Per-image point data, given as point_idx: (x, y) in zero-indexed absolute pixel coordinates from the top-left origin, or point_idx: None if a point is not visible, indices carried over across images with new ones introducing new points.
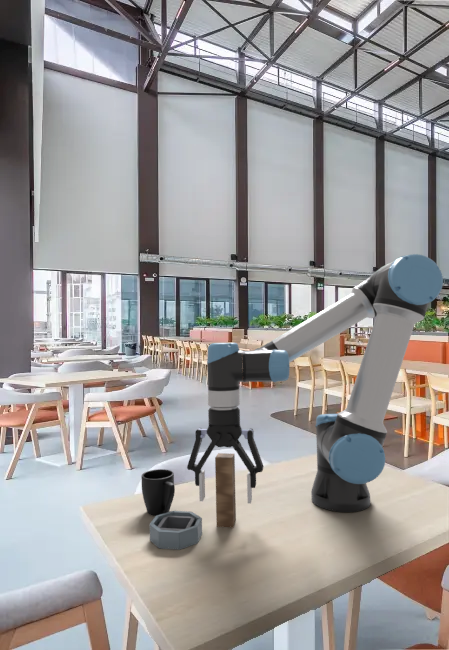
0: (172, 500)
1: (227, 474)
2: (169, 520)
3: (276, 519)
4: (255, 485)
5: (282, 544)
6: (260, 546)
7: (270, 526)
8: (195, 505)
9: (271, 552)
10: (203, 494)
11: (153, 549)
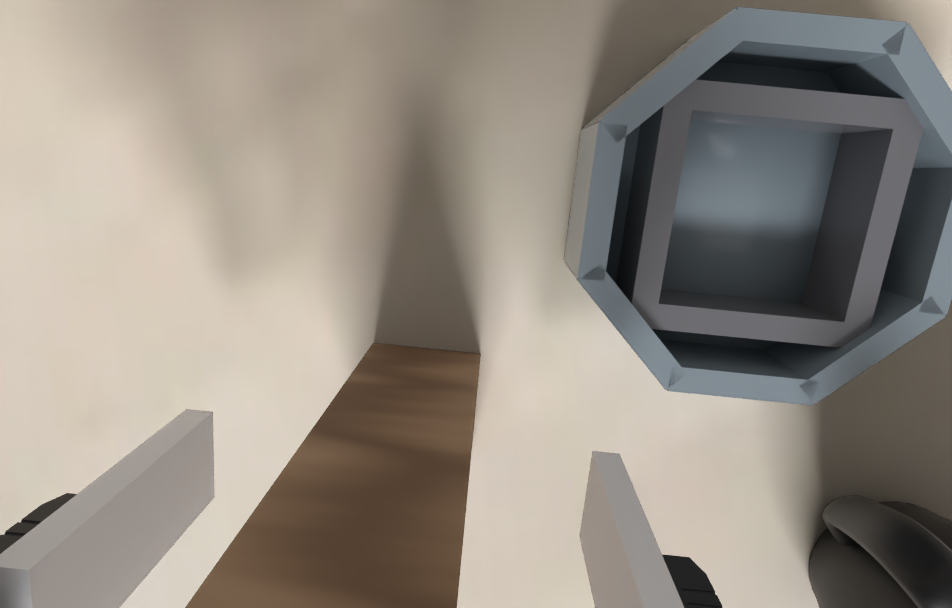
0: (845, 524)
1: (285, 575)
2: (816, 313)
3: (125, 455)
4: (39, 506)
5: (55, 132)
6: (183, 101)
7: (151, 365)
8: None
9: (109, 25)
10: (594, 509)
11: None
